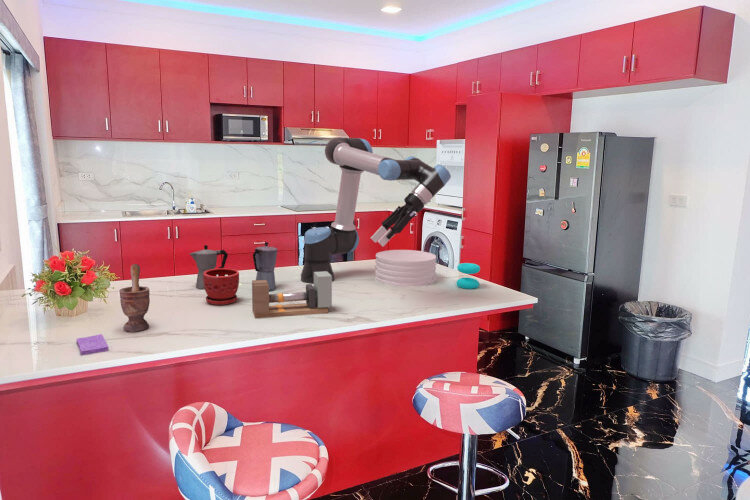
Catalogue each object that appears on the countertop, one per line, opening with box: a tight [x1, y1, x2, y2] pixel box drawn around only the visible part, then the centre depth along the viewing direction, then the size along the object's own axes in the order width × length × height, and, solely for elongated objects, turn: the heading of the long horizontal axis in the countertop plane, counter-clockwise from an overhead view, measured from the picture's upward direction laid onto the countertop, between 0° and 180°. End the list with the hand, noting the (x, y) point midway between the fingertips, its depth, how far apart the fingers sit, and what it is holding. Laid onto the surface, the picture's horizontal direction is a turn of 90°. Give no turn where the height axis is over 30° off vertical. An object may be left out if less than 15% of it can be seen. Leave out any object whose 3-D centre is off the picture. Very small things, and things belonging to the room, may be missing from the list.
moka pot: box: [252, 241, 279, 292], centre depth 217 cm, size 10×15×20 cm, turn 161°
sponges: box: [76, 333, 110, 356], centre depth 152 cm, size 7×13×2 cm, turn 35°
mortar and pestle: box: [119, 263, 151, 333], centre depth 167 cm, size 12×9×20 cm
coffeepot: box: [189, 244, 229, 290], centre depth 220 cm, size 15×9×18 cm, turn 113°
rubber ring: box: [305, 283, 315, 308], centre depth 190 cm, size 7×2×7 cm, turn 18°
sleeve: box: [313, 271, 333, 308], centre depth 191 cm, size 8×5×12 cm, turn 18°
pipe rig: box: [251, 279, 329, 319], centre depth 188 cm, size 9×26×12 cm, turn 108°
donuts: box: [455, 262, 481, 290], centre depth 231 cm, size 10×10×10 cm
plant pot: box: [203, 267, 240, 306], centre depth 198 cm, size 13×13×12 cm
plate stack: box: [374, 249, 437, 287], centre depth 242 cm, size 28×28×12 cm
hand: (376, 242), depth 195 cm, fingers open, 8 cm apart
